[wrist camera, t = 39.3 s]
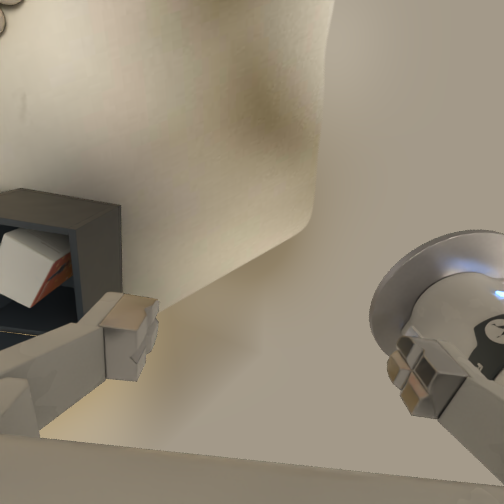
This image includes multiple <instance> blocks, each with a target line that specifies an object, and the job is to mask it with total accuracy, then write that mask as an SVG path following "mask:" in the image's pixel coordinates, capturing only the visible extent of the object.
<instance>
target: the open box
mask: <svg viewBox="0 0 504 504" xmlns="http://www.w3.org/2000/svg"><path fill="white" fill-rule="evenodd" d="M18 228H26V229H32V230H38V231H45V232H51V233H57V234H63V235H69V243H70V252H71V262H72V271H73V275H72V276H71V277H70V278H69V279H67V280H66V281H65V282H63V283H62V284H61V285H60V286H58V287H57V288H56V289H54V290H53V291H52V292H51V293H49V294H48V295H47V296H45V297H44V298H43V299H41V300H40V301H39V302H38V303H36V304H35V305H34V306H33V307H31V308H28V307H26V306H24V305H22V304H20V303H18V302H16V301H14V300H12V299H10V298H8V297H6V296H4V295H2V294H0V331H5V332H13V333H21V334H29V335H36V336H39V335H41V334H44V333H47V332H49V331H52V330H54V329H57V328H59V327H62V326H64V325H67V324H69V323H78V322H79V320H80V319H81V318H82V317H83V316H84V315H85V314H86V313H87V312H88V311H89V310H90V309H91V308H92V307H93V306H94V305H95V304H96V303H97V302H98V301H99V300H100V299H101V298H102V297H103V295H104V294H105V293H107V292H110V291H111V292H118V293H122V243H121V205H116V204H111V203H105V202H99V201H93V200H87V199H81V198H76V197H70V196H64V195H58V194H52V193H46V192H41V191H35V190H29V189H23V188H19V189H15V190H11V191H6V192H2V193H0V244H1V241H2V238H3V235H4V234H5V233H7V232H10V231H12V230H15V229H18Z"/></svg>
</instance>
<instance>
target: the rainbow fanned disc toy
mask: <svg viewBox="0 0 504 504" xmlns="http://www.w3.org/2000/svg"><path fill="white" fill-rule="evenodd" d="M20 1H21V0H0V3H2V4H6V5H14V4H17V3H19V2H20ZM4 25H5V19H4V15H3V13H2V11H1V9H0V33H1V32H2V31H3V29H4Z"/></svg>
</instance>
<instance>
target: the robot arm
mask: <svg viewBox="0 0 504 504" xmlns="http://www.w3.org/2000/svg"><path fill="white" fill-rule="evenodd" d="M158 312H159V300H158V299H155V298H149V297H143V296H137V295H131V294H125V293H118V292H111V291H110V292H107V293H105V294H104V295H103V297H102V298H101V299H100V300H99V301H98V302H97V303H96V304H95V305H94V306H93V307H92V308H91V309H90V310H89V311H88V312H87V313H86V314H85V315H84V316H83V317H82V318H81V319H80V320H79V322H78V323H69V324H67V325H64V326H62V327H59V328H57V329H54V330H52V331H49V332H47V333H44V334H41V335H39V336H36V337H34V338H31V339H29V340H26V341H24V342H21V343H19V344H16V345H14V346H11V347H9V348H6V349H4V350H1V351H0V504H504V486H495V485H486V484H476V483H466V482H457V481H447V480H437V479H427V478H418V477H408V476H399V475H389V474H379V473H370V472H360V471H351V470H342V469H332V468H322V467H313V466H304V465H294V464H285V463H276V462H266V461H256V460H247V459H238V458H228V457H219V456H209V455H199V454H189V453H180V452H170V451H161V450H152V449H142V448H132V447H123V446H114V445H104V444H95V443H85V442H76V441H66V440H57V439H47V438H40V434H39V430H41V429H42V428H43V427H44V426H46V425H47V424H48V423H50V422H51V421H52V420H54V419H55V418H56V417H58V416H59V415H60V414H62V413H63V412H64V411H66V410H67V409H68V408H70V407H71V406H72V405H74V404H75V403H76V402H78V401H79V400H80V399H81V398H83V397H84V396H86V395H87V394H88V393H90V392H91V391H92V390H93V389H95V388H96V387H97V386H99V385H100V384H102V383H103V382H104V381H105V380H106V379H115V380H125V381H136V382H137V380H138V378H139V376H140V374H141V372H142V370H143V367H144V365H145V363H146V354H148V353H150V352H151V350H152V348H153V346H154V344H155V340H156V337H157V331H158V320H157V319H156V318H155V317H156V315H157V313H158ZM401 335H402V336H401V337H400V338H399V339H398V341H397V343H396V347H397V350H396V351H395V352H393V353H392V354H391V355H390V357H389V359H388V361H387V372H388V375H389V378H390V380H391V381H392V383H393V384H394V385H395V386H396V387H398V388H399V389H400V390H401V392H400V397H401V398H402V400H403V402H404V404H405V405H406V407H407V409H408V410H409V412H410V414H411V415H413V416H418V417H425V418H431V419H438V422H439V423H440V424H441V425H442V426H443V427H444V428H446V429H447V430H448V431H449V432H450V433H451V434H452V435H453V436H454V437H455V438H456V439H457V440H458V441H459V442H460V443H461V444H462V445H463V446H464V447H465V448H466V449H468V450H469V451H470V452H471V453H472V454H473V455H474V456H475V457H476V458H477V459H478V460H479V461H480V462H481V463H482V464H483V465H484V466H485V467H486V468H487V469H488V470H489V471H490V472H491V473H493V474H494V475H495V476H496V477H497V478H498V479H499V480H500V481H501V482H502V483H503V484H504V278H491V277H489V276H486V275H484V274H480V273H474V272H466V273H459V274H455V275H451V276H449V277H446V278H444V279H442V280H440V281H438V282H436V283H435V284H433V285H432V286H431V287H429V288H428V289H427V290H426V291H425V292H424V293H423V294H422V295H421V296H420V298H419V299H418V300H417V302H416V304H415V306H414V308H413V311H412V314H411V317H410V320H409V321H408V322H407V323H406V325H405V326H404V327H403V329H402V331H401Z"/></svg>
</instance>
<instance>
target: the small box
mask: <svg viewBox="0 0 504 504" xmlns="http://www.w3.org/2000/svg"><path fill="white" fill-rule="evenodd" d="M72 275H73V271H72V262H71V252H70V243H69V235H63V234H57V233H51V232H45V231H38V230H32V229H26V228H18V229H15V230H12V231H10V232H7V233H5V234H4V235H3V238H2V241H1V244H0V294H2V295H4V296H6V297H8V298H10V299H12V300H14V301H16V302H18V303H20V304H22V305H24V306H26V307H28V308H31V307H33V306H34V305H35V304H36V303H38V302H39V301H40V300H41V299H43V298H44V297H45V296H47V295H48V294H49V293H51V292H52V291H53V290H54V289H56V288H57V287H58V286H60V285H61V284H62V283H63V282H65V281H66V280H67V279H69V278H70V277H71V276H72Z"/></svg>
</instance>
